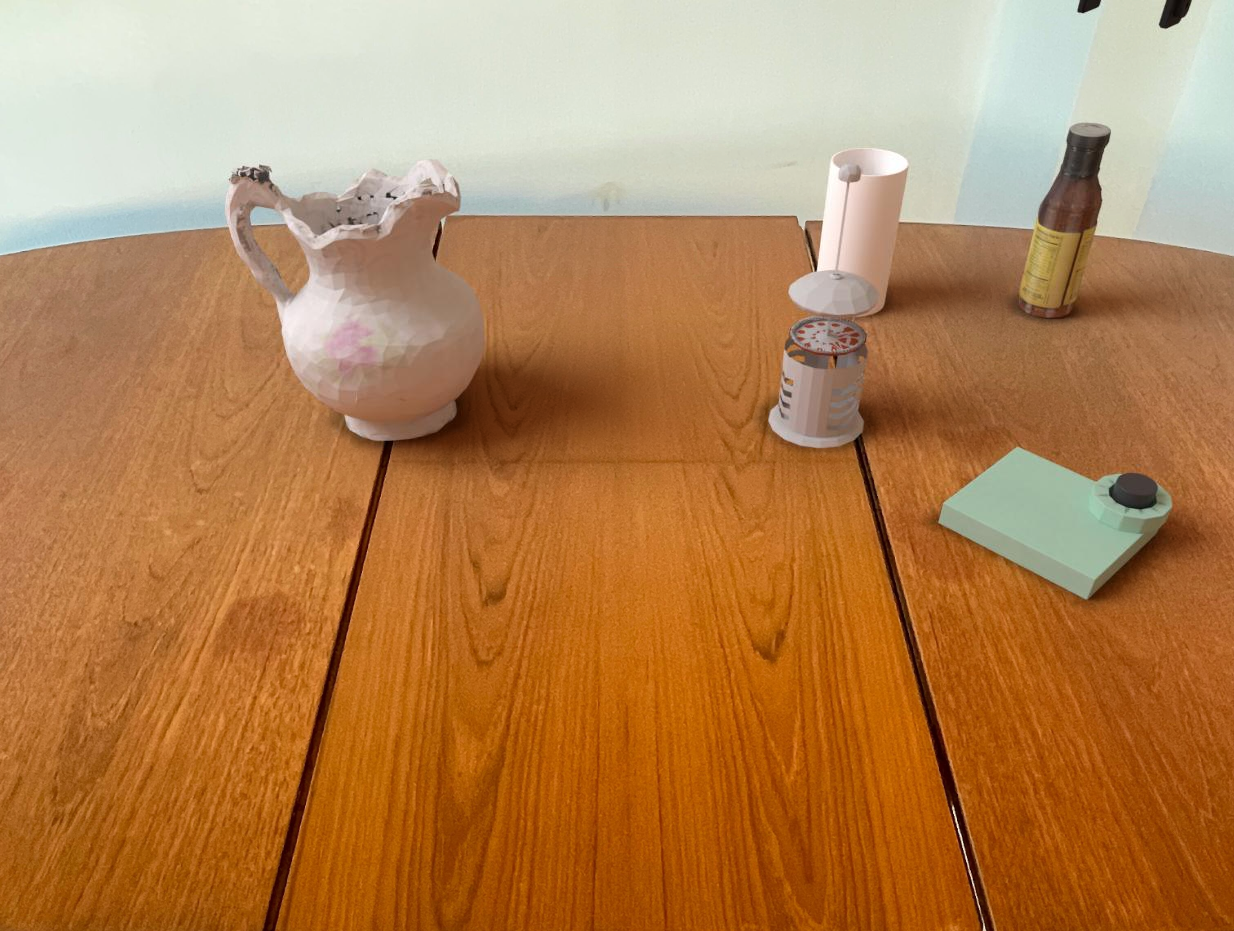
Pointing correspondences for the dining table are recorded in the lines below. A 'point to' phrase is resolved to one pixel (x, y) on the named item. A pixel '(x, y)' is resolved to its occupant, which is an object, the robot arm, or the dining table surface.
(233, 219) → the ceramic pitcher
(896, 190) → the white cylinder
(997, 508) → the scale
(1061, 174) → the sauce bottle
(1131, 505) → the tare button
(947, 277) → the dining table surface
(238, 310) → the dining table surface
